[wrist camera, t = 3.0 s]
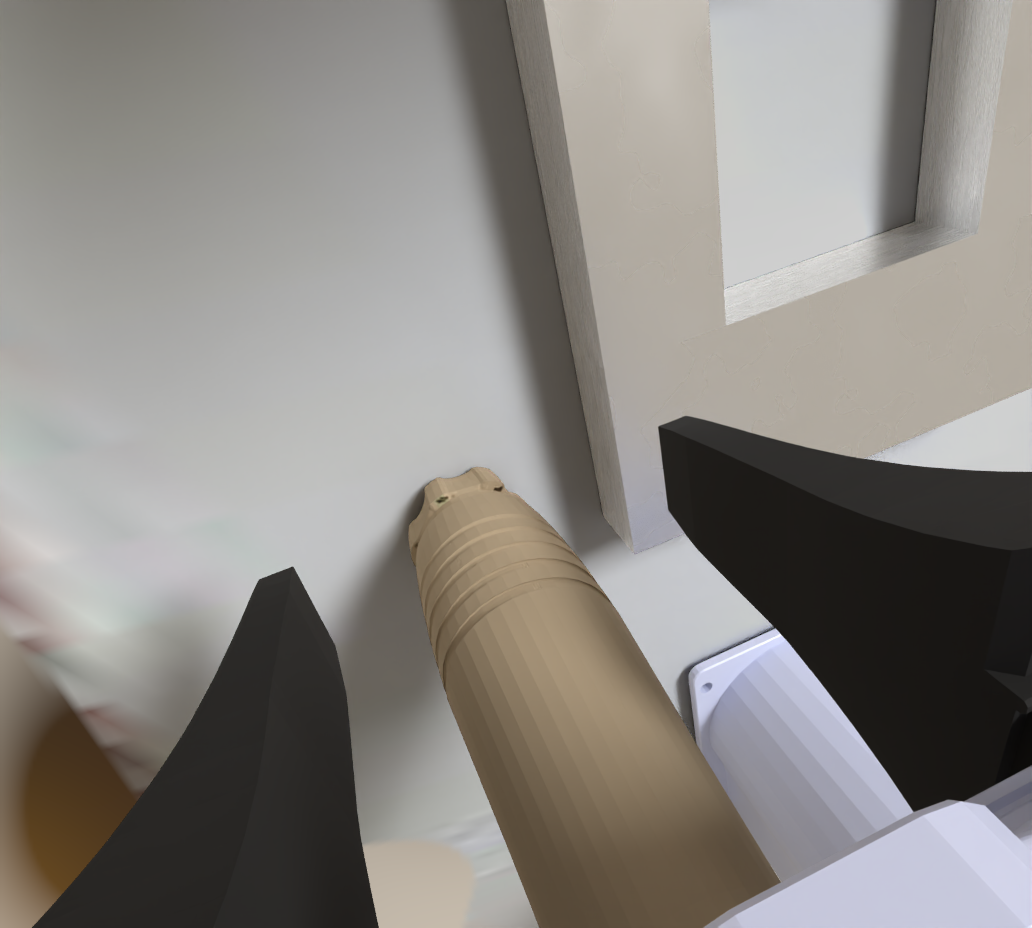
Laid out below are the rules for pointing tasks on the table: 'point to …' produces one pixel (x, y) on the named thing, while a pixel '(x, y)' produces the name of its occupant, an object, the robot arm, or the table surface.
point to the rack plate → (786, 292)
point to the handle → (571, 725)
